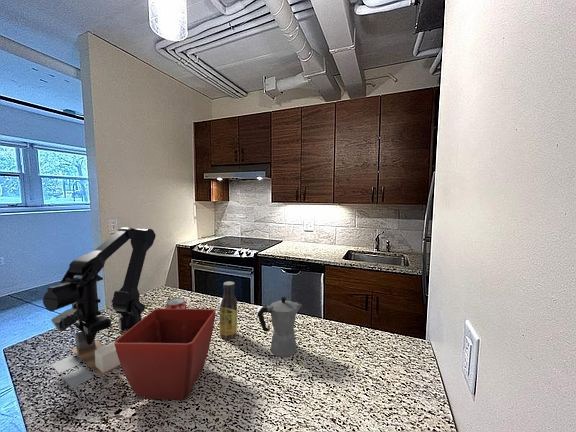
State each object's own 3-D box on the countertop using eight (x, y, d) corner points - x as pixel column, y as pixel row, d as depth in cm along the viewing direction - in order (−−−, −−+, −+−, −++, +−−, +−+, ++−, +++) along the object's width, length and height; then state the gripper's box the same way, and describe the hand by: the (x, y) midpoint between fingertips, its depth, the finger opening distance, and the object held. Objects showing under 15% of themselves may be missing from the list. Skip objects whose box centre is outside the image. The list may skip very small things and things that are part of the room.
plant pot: (157, 359, 81) (155, 307, 80) (217, 360, 81) (216, 308, 79) (115, 409, 62) (111, 342, 61) (193, 411, 62) (191, 344, 60)
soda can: (179, 341, 91) (178, 306, 90) (162, 339, 92) (160, 304, 91) (191, 331, 98) (190, 298, 97) (174, 329, 99) (173, 296, 98)
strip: (70, 351, 84) (69, 334, 84) (95, 341, 90) (94, 325, 90) (99, 378, 72) (98, 358, 72) (126, 364, 78) (125, 346, 78)
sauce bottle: (216, 338, 93) (214, 284, 92) (226, 329, 99) (225, 279, 97) (231, 341, 91) (230, 286, 89) (241, 333, 97) (240, 281, 95)
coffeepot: (296, 338, 93) (296, 289, 92) (307, 353, 84) (307, 299, 83) (254, 346, 88) (254, 295, 87) (261, 363, 79) (261, 306, 78)
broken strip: (50, 367, 77) (50, 364, 77) (71, 358, 81) (71, 355, 81) (72, 391, 68) (71, 387, 68) (94, 380, 72) (94, 376, 72)
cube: (95, 366, 76) (94, 350, 76) (114, 357, 80) (113, 342, 80) (103, 372, 73) (102, 356, 73) (122, 363, 77) (121, 347, 77)
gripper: (43, 299, 81) (47, 346, 83) (65, 314, 71) (69, 368, 72) (86, 288, 91) (88, 331, 92) (110, 300, 80) (113, 348, 82)
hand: (89, 343), depth 84 cm, fingers closed
